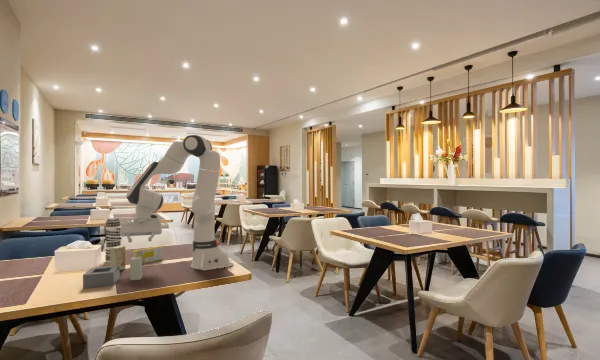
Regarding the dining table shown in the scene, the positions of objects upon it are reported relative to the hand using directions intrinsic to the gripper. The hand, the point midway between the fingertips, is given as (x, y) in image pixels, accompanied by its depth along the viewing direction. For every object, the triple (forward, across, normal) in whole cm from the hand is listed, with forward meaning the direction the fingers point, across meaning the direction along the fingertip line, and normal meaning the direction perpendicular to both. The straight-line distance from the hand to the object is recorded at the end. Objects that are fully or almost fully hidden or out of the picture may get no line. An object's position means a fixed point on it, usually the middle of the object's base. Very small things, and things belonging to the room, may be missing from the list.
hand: (140, 241), depth 169 cm
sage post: (+20, 0, +3) cm, 20 cm away
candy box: (-2, +1, +25) cm, 25 cm away
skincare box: (+6, -12, +17) cm, 21 cm away
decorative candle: (-10, -19, +33) cm, 40 cm away
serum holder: (+21, -14, +1) cm, 25 cm away
